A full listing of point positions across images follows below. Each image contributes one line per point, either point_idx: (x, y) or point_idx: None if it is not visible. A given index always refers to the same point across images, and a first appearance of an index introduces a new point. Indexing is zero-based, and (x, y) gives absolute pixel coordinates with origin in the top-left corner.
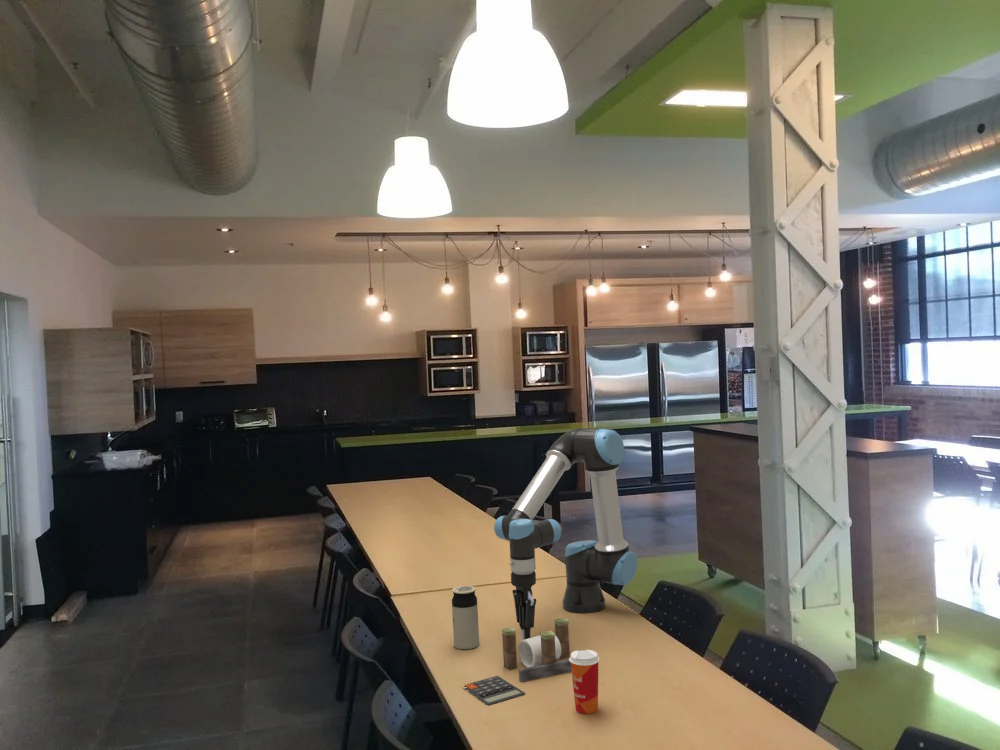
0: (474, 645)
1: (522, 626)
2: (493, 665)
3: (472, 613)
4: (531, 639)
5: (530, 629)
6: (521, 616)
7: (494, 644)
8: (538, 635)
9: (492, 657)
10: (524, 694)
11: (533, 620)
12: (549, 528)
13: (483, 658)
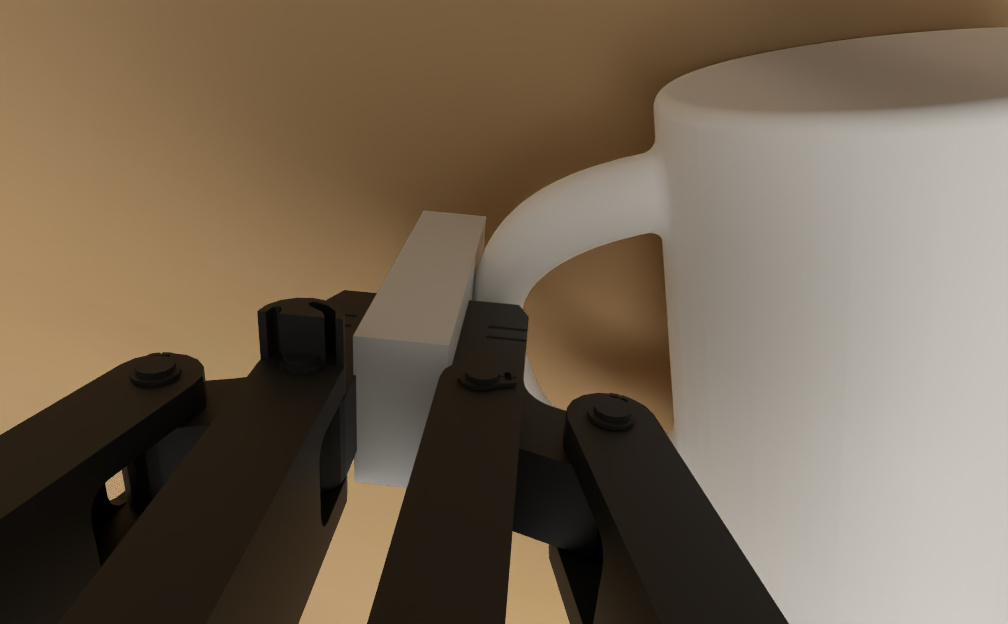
0: None
1: (354, 456)
2: (548, 603)
3: None
4: (978, 585)
5: (451, 326)
6: (289, 618)
7: (27, 384)
8: (886, 398)
9: (364, 537)
10: None
11: (715, 533)
12: None
13: (348, 597)
